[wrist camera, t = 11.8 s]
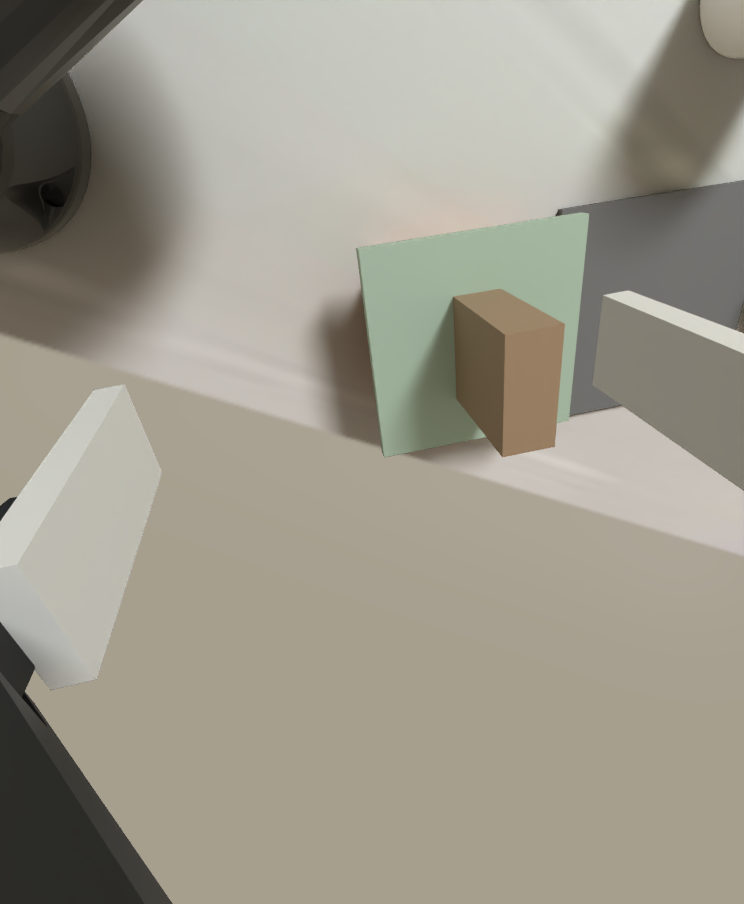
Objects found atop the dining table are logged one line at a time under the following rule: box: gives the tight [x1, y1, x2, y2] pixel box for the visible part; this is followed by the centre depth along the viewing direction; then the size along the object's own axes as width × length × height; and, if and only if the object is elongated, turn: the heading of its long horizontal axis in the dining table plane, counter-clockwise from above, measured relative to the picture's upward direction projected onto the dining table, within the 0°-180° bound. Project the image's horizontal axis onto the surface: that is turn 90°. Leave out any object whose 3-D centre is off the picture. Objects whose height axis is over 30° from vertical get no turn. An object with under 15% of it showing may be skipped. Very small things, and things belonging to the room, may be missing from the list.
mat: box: [558, 180, 744, 415], centre depth 46 cm, size 19×19×1 cm
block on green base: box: [356, 212, 589, 457], centre depth 34 cm, size 16×16×10 cm
